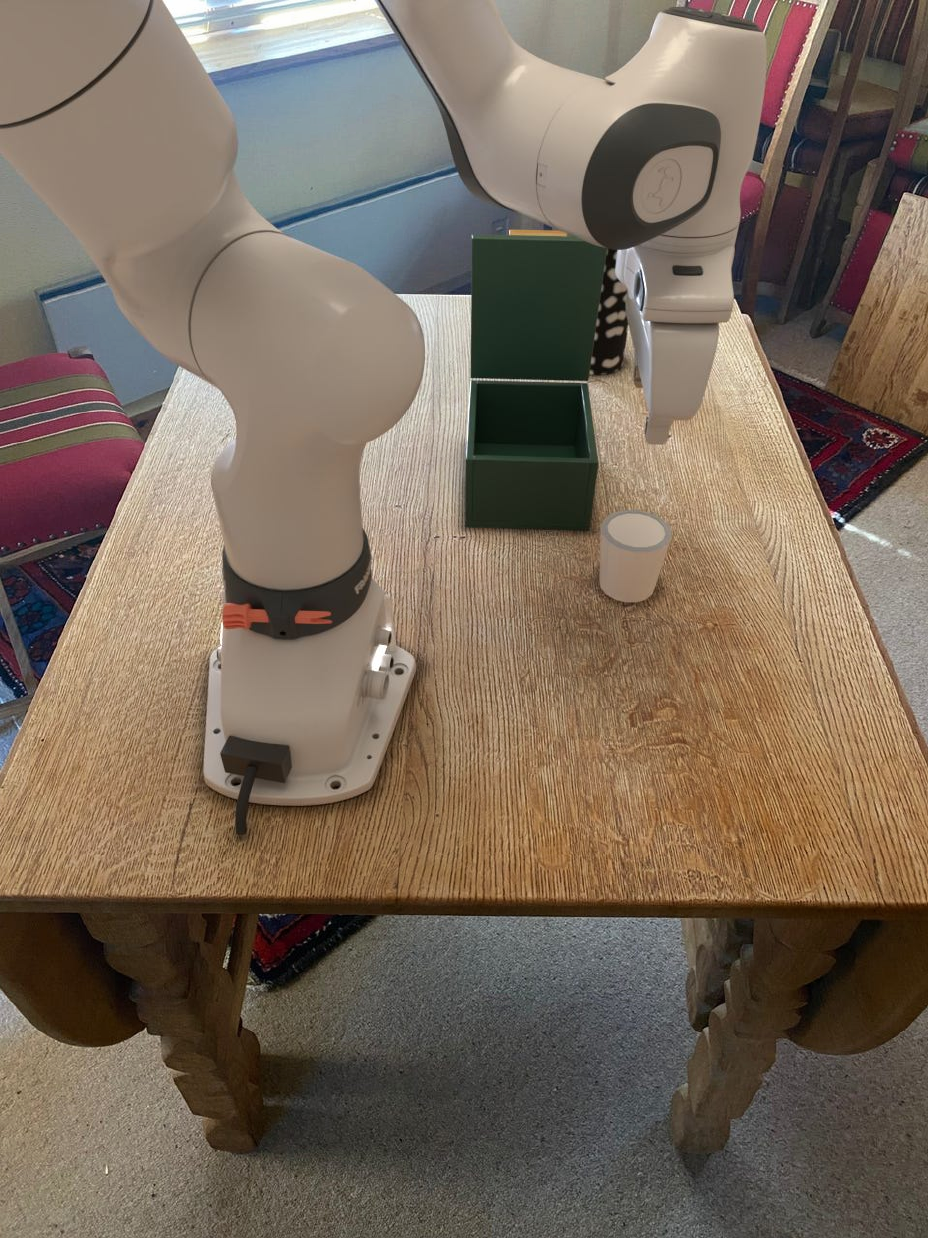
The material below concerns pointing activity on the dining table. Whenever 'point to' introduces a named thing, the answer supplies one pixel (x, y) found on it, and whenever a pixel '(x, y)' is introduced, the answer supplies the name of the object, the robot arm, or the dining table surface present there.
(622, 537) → the shot glass
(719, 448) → the dining table surface
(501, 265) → the lid
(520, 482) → the chest
